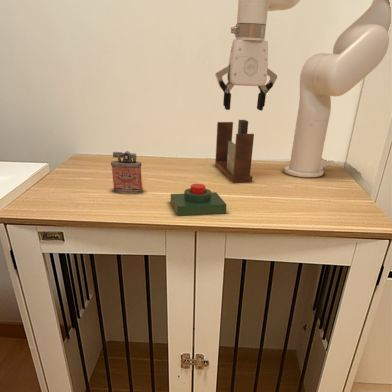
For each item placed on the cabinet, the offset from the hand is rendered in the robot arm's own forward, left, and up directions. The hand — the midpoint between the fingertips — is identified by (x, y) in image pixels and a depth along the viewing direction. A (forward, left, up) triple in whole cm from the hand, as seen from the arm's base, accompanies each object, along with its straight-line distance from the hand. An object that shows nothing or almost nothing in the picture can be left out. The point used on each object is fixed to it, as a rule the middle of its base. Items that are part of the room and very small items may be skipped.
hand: (243, 109), depth 116 cm
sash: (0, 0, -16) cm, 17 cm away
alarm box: (+19, +27, -18) cm, 38 cm away
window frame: (0, -5, -18) cm, 19 cm away
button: (+19, +27, -15) cm, 36 cm away
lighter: (+35, +11, -19) cm, 41 cm away
